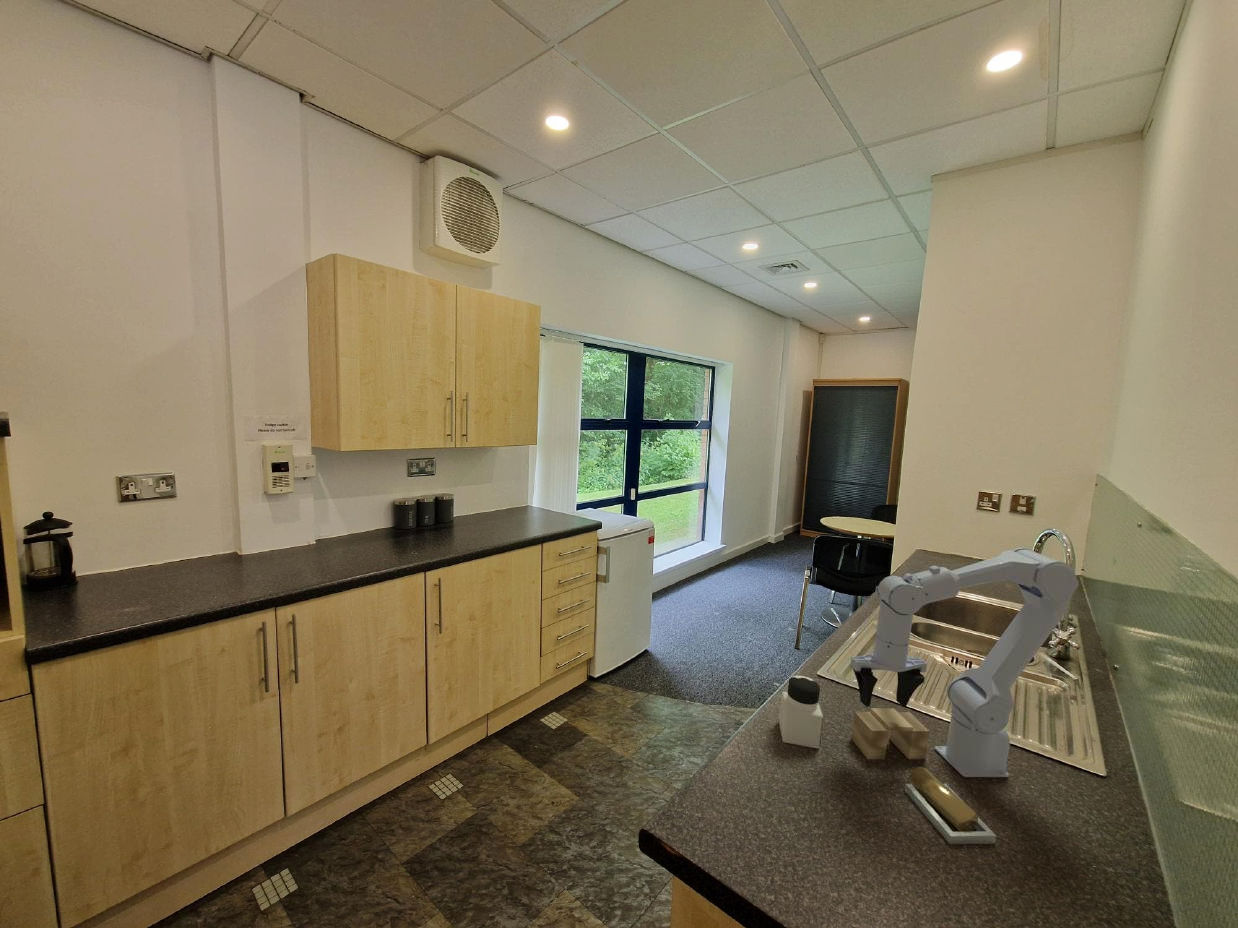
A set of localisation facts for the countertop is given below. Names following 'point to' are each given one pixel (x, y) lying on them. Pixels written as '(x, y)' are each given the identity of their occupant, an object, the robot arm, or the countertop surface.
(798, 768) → the countertop surface
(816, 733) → the medicine bottle
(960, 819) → the axle
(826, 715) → the countertop surface
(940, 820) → the cradle
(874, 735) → the wooden stepped block
